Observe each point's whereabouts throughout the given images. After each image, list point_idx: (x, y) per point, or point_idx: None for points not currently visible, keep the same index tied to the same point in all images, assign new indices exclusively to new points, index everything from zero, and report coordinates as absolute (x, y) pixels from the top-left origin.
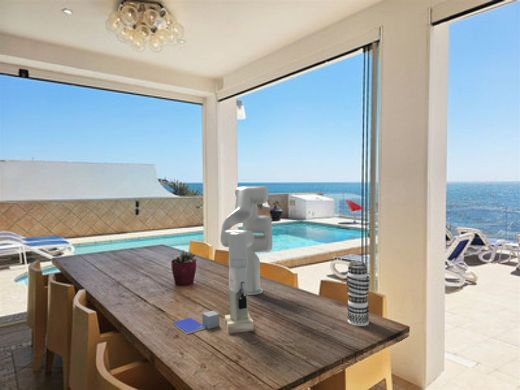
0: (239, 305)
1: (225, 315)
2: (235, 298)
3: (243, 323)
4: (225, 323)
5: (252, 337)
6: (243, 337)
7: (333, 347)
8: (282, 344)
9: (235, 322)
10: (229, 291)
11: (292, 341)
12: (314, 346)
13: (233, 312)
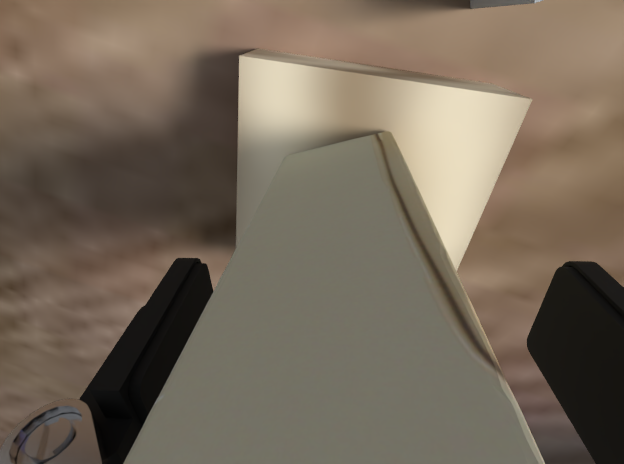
0: (156, 296)
1: (514, 105)
2: (182, 352)
3: (239, 210)
4: (443, 78)
5: (140, 203)
6: (150, 147)
7: (8, 428)
8: (31, 306)
9: (264, 148)
10: (527, 447)
11: (66, 350)
12: (14, 391)
13: (308, 178)
